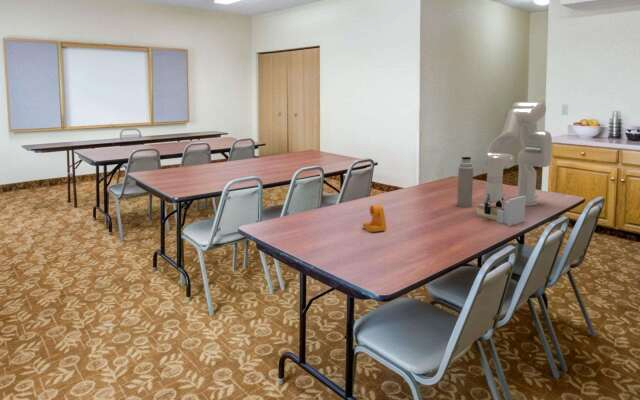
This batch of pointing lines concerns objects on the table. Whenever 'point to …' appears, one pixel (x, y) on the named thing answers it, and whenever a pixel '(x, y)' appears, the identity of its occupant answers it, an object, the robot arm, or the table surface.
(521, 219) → the gray forked clamp
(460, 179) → the thermos bottle
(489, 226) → the table surface
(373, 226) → the bracket
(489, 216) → the tan and gray block
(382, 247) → the table surface
